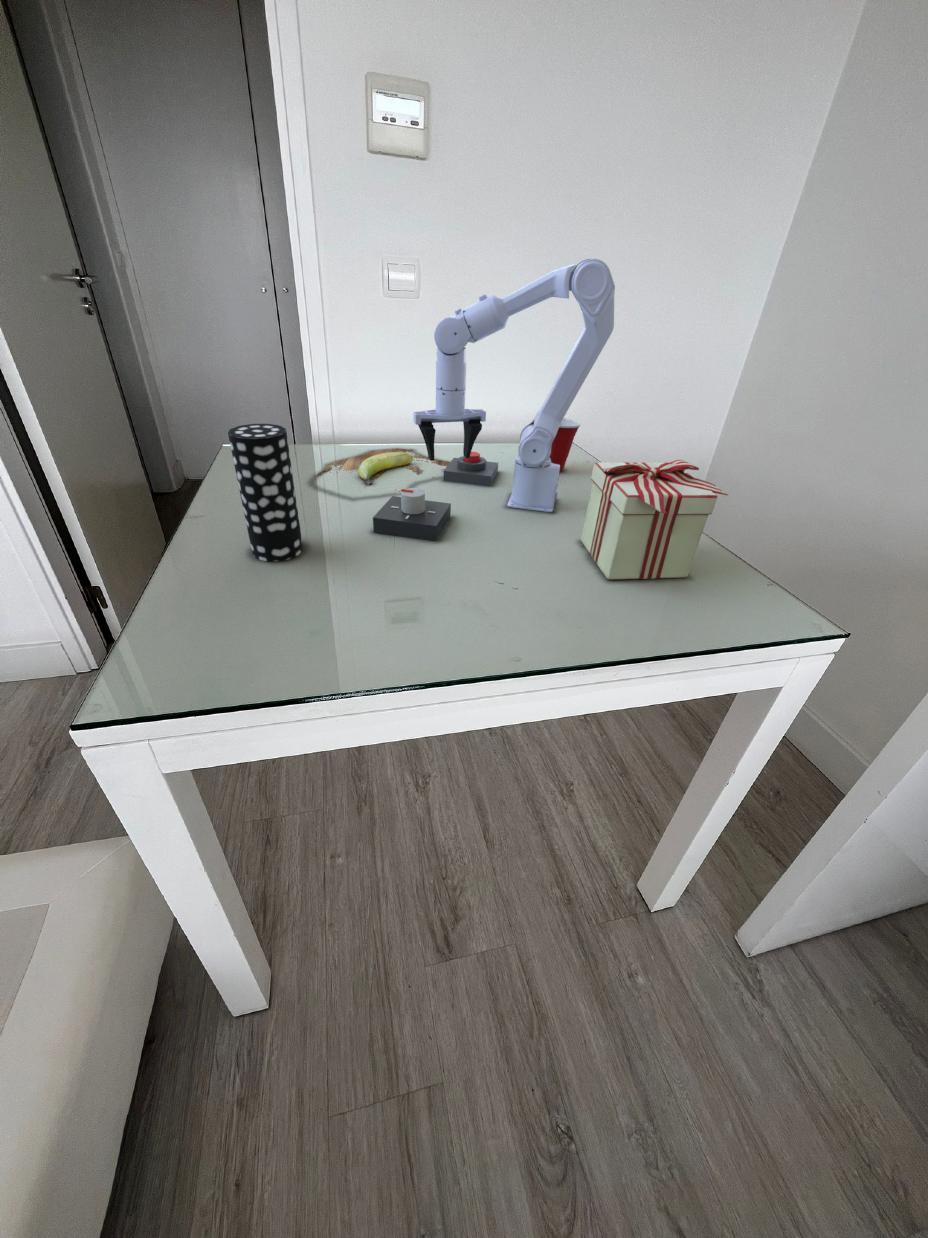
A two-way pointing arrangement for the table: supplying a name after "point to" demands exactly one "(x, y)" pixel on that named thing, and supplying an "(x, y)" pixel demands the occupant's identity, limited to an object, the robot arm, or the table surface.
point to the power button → (473, 458)
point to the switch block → (471, 472)
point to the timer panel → (412, 520)
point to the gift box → (646, 518)
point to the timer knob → (412, 501)
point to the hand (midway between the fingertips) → (449, 458)
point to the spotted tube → (267, 490)
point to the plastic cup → (563, 442)
